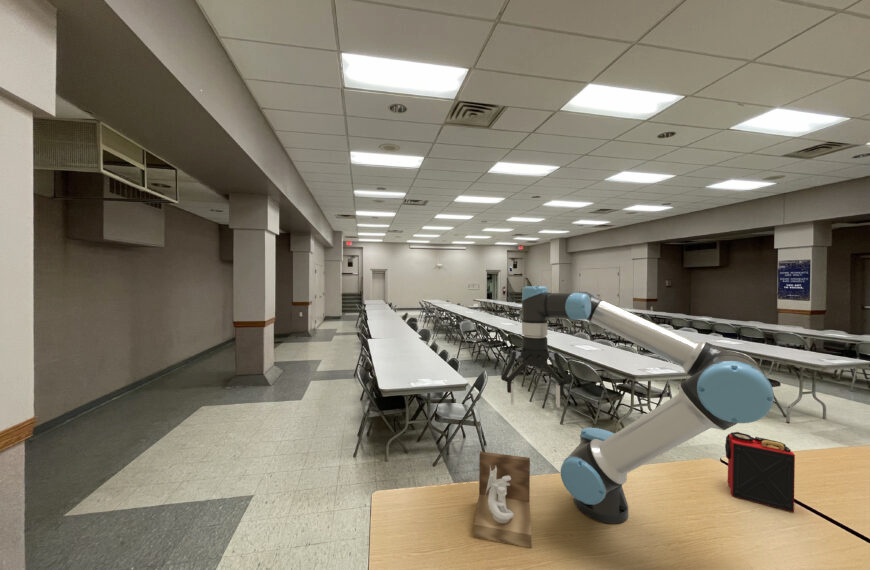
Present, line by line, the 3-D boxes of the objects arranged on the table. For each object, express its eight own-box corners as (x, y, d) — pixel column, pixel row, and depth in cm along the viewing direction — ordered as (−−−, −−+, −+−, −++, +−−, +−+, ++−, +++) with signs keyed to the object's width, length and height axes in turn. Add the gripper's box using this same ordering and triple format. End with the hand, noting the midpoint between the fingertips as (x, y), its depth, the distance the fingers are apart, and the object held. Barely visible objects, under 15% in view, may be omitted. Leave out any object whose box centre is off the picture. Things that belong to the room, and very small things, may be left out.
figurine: (517, 525, 89) (518, 481, 89) (490, 527, 88) (490, 483, 88) (504, 499, 100) (504, 459, 100) (479, 501, 99) (479, 461, 99)
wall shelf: (529, 510, 100) (529, 457, 100) (531, 548, 86) (532, 487, 86) (479, 502, 104) (480, 451, 104) (474, 537, 90) (474, 478, 89)
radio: (784, 496, 108) (785, 435, 108) (796, 514, 99) (798, 448, 99) (721, 480, 116) (722, 423, 116) (727, 496, 108) (728, 435, 108)
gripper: (574, 335, 103) (574, 402, 103) (493, 333, 108) (494, 397, 108) (580, 339, 96) (580, 412, 96) (493, 336, 101) (493, 406, 101)
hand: (534, 404), depth 102 cm, fingers open, 13 cm apart
